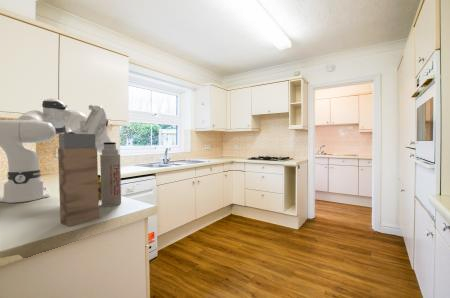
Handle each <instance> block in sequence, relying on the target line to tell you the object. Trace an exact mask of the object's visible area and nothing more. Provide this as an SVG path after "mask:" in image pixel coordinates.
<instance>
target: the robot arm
mask: <svg viewBox="0 0 450 298" xmlns="http://www.w3.org/2000/svg"><path fill="white" fill-rule="evenodd" d="M41 104H42V105H41V107H42V111H40V110H29V111H26V112H24V113H22V115H20V116H19V117H17V119H0V148H1V149H2V150H3V151H4V153H5V156H6V158H7V165H8V171H7V175H6V177H7V181H6V182H5V183H3V198H0V202H1V203H2V202H3V203H11V204H12V203H23V202H24V203H26V202H31V201H36V200H40V199H45V198H49V197H50V190H49V189H47V187H45V182H44V181H43V179H42V178H41V176H42V175H41V170H40V167H39V166H40V164H39V162H40V161H39V155H38V154H37V153H36V152H35V151H33V150H31V149H27V148H25V147H24V146H23V144H29V143H30V144H32V143H33V144H35V143H36V144H37V143H38V144H40V143H47V142H51V141H53V140H54V138H55V137H56V135H59V134H95V143H96V148H97V152H98V153H101V154H102V150H103V149H104V143H105V142H112V140H111V137H110V136H109V135H108V132H107V131H108V125H109V124H108V123H109V119H108V118H107V115H106V111H105V109H104V108H103V106H101V105H92V104H89V105H88V110H90V113H89V114H88V116H87V115H85V114H84V113H83V112H81V111H79V110H76V109H68V105H66V104H65V103H64V102H63V101H62V100H60V99H57V98H48V99H44V100H43V101H42V103H41Z"/></svg>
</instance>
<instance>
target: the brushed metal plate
mask: <svg viewBox="0 0 450 298" xmlns="http://www.w3.org/2000/svg"><path fill="white" fill-rule="evenodd" d="M58 148H59V149H70V148H96V143H95V134H64V133H60V134H58Z"/></svg>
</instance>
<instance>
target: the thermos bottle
mask: <svg viewBox="0 0 450 298" xmlns="http://www.w3.org/2000/svg"><path fill="white" fill-rule="evenodd" d="M116 144H117V143H116V142H115V141H114V142H113V141H111V142H105V143H104V149H103V150H102V153H101V154H100V155H99V158H100V159H99V162H100V163H99V165H100V176H101V200H100V201H101V206H103V207H113V206H117V205H120V204H121V203H122V184H121V183H122V178H121V174H122V173H121V154H119V149H118V148H117V145H116Z"/></svg>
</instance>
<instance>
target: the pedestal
mask: <svg viewBox="0 0 450 298" xmlns="http://www.w3.org/2000/svg"><path fill="white" fill-rule="evenodd" d="M57 158H58V159H57V160H58V185H59V186H58V188H59V189H58V190H59V216H60V217H59V218H60V224H62V225H64V226H66V227H72V226H76V225H79V224H82V223H85V222H89V221H93V220H97V219H99V218H100V208H99V207H100V203H99V198H98V175H99V172H98V171H99V170H98V169H99V167H98V166H99V165H98V151H97V148H70V149H59V147H58V148H57Z"/></svg>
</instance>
